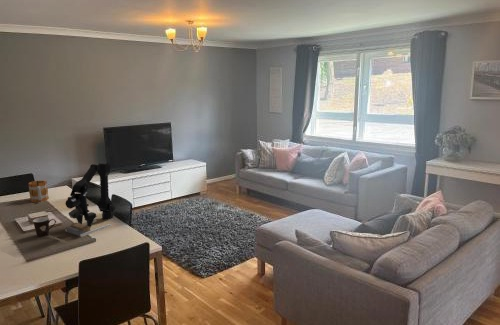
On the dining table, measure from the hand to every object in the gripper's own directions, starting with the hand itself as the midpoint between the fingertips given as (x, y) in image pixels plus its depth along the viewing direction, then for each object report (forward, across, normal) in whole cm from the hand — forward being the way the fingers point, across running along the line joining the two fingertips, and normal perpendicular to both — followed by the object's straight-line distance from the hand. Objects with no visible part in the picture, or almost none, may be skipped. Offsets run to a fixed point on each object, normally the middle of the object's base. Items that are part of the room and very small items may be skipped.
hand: (85, 226), depth 234 cm
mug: (+4, -96, +22) cm, 99 cm away
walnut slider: (+2, 0, -3) cm, 4 cm away
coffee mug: (+3, -17, -16) cm, 24 cm away
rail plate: (+3, 0, +2) cm, 4 cm away
